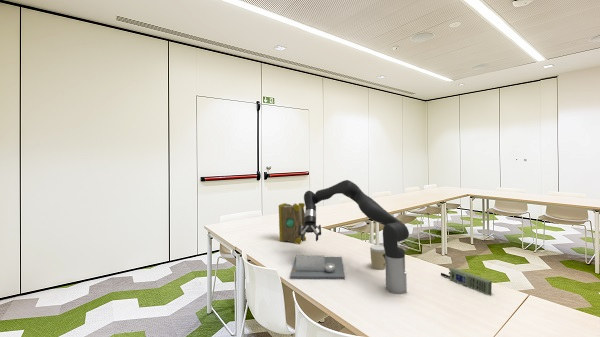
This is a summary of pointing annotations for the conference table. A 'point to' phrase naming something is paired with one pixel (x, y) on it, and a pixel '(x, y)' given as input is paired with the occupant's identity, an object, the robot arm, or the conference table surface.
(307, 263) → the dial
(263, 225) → the conference table surface
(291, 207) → the decorative book
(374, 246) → the coffee cup
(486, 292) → the handheld radio
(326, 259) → the dial plate
